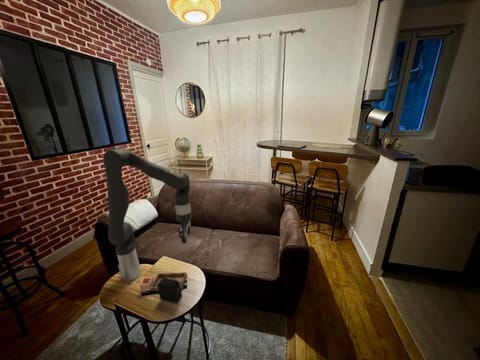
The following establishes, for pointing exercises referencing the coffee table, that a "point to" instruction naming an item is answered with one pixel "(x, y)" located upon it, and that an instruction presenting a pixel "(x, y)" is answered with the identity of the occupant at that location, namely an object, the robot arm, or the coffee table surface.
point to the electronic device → (169, 290)
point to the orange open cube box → (146, 284)
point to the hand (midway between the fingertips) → (186, 238)
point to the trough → (174, 276)
